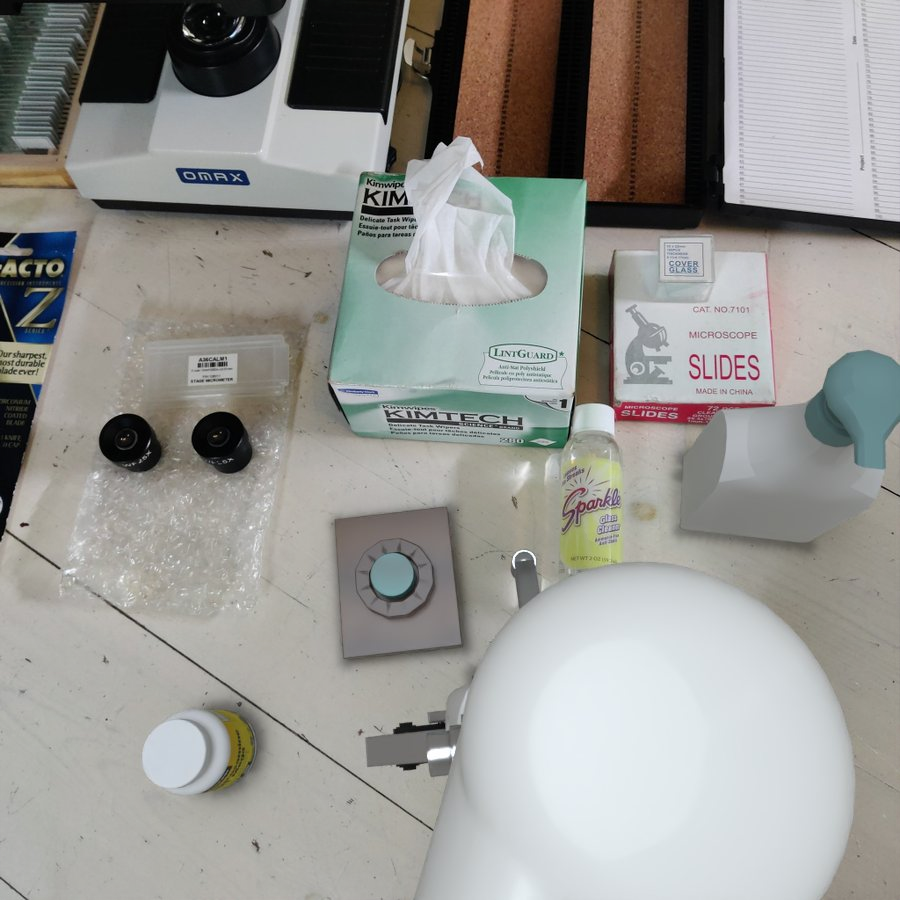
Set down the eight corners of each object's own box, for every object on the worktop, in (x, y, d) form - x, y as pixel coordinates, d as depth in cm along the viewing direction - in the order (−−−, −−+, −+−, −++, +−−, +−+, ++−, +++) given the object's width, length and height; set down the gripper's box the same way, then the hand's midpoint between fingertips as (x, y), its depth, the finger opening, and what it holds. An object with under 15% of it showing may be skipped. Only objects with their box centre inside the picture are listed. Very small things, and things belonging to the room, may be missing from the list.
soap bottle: (677, 548, 71) (781, 451, 45) (681, 459, 74) (782, 319, 48) (806, 563, 70) (988, 473, 44) (805, 473, 73) (977, 336, 47)
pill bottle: (241, 799, 67) (193, 814, 56) (174, 773, 68) (115, 783, 57) (270, 724, 68) (229, 725, 58) (204, 699, 69) (152, 696, 59)
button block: (463, 647, 70) (461, 643, 66) (347, 660, 70) (339, 657, 66) (448, 512, 73) (445, 500, 70) (339, 524, 74) (330, 514, 70)
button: (417, 596, 68) (415, 593, 66) (375, 601, 68) (371, 598, 66) (413, 554, 69) (411, 550, 67) (371, 559, 69) (368, 555, 67)
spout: (577, 756, 50) (588, 761, 44) (519, 762, 50) (522, 768, 44) (548, 554, 54) (554, 536, 48) (494, 561, 54) (494, 543, 48)
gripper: (329, 896, 25) (395, 822, 41) (894, 834, 25) (735, 784, 41) (316, 646, 27) (383, 670, 43) (831, 587, 27) (705, 633, 43)
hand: (554, 726), depth 42 cm, fingers open, 9 cm apart
